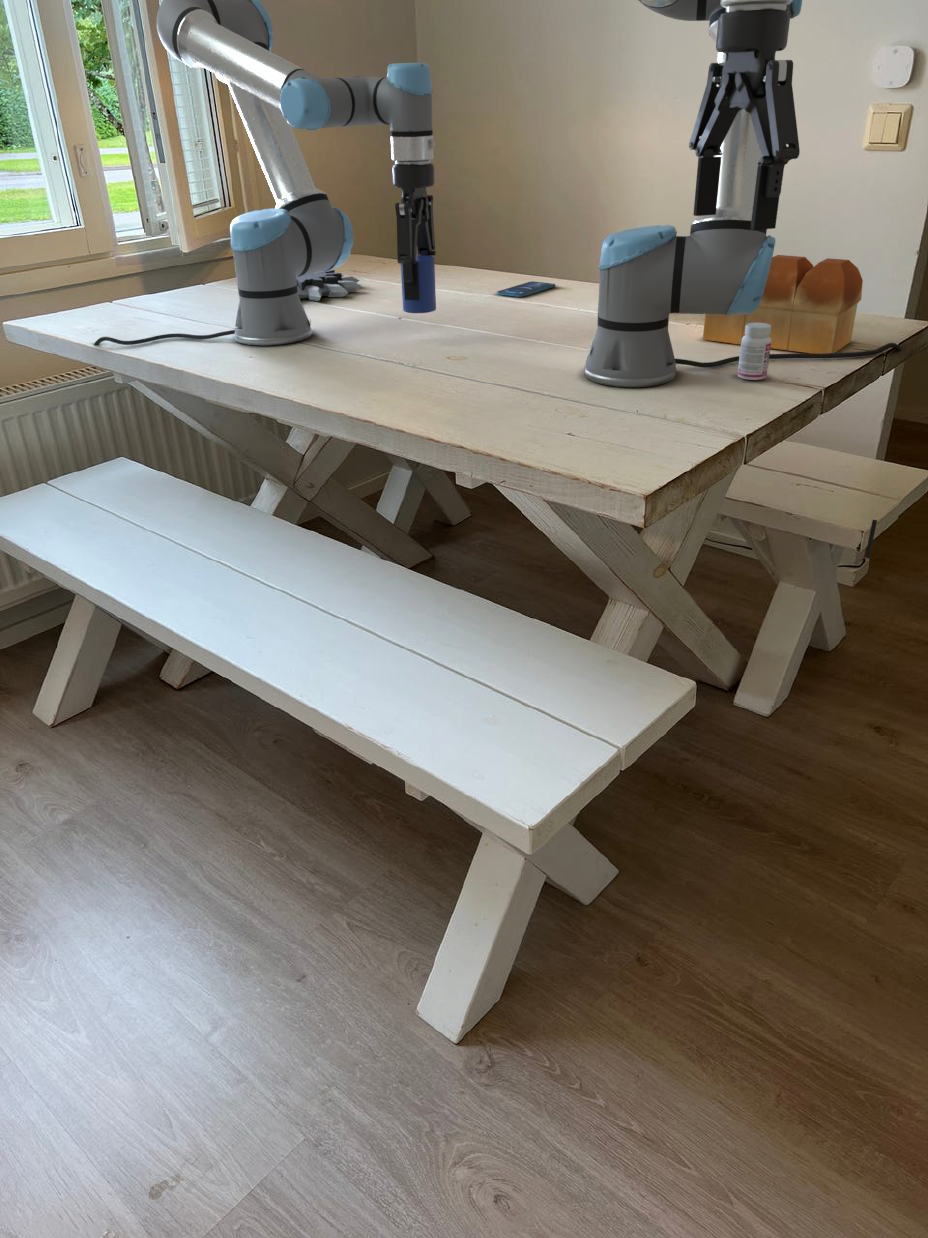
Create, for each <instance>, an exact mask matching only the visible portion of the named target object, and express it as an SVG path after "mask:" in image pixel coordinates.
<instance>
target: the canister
mask: <svg viewBox="0 0 928 1238" xmlns="http://www.w3.org/2000/svg"><path fill="white" fill-rule="evenodd" d="M416 263H418V275H419V299H420V300H405V295H404V275H403V264H402V263H400V275H401V276H400V279H401V280H400V281H401V297H402V298H401V299H402V312H405V313H407V314H427V313H432V312H435V311H436V310H437V299H436V298H437V297H436V296H437V295H436V269H435V268H436V267H435V266H436V265H435V263H436V262H435V256H425V255H419V254H416Z"/></svg>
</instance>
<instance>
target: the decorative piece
mask: <svg viewBox="0 0 928 1238" xmlns="http://www.w3.org/2000/svg"><path fill="white" fill-rule="evenodd" d="M296 279H297V289H298V296H299V299H300V300H302V299H308V300H309V301H314V302H315V301H316V302H319V301H320V300H321V298H322V297H328V298H344V297H345V296H347V295H348V294H349V293H353V292H354V293H355V292H357V291H358V290H359V289H361V288H363V286H362V285H361V284H359V281H360V279H358V278H357V277H354V276H352V275H347V276H345V275H343V274H342V272H335V269H331V270H330V271H327V272H318V273H313V274H309V275H304V276H299V277H296Z"/></svg>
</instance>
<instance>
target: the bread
mask: <svg viewBox="0 0 928 1238" xmlns="http://www.w3.org/2000/svg"><path fill="white" fill-rule="evenodd" d="M863 281H864V280H863V277H862V275H861V272H860V270H859V268H858V267H857V266H856V265H855V264H854V263H853V262H852V261H851V260H850V259H843V258H842V259H841V258H829V257H827V258H825V259H823V260H821V261H819V262H818V263H816V264H815V265H814V264H813V263H812V262H811V261H810V260H809V259H808V258H807V257H806V256H798V255H797V256H796V255H785V254H783V255H782V254H776V255H773V257H772V261H771V266H770V270H769V274H768V278H767V282H766V286H765V289H764V293H763V296H762V299H761V302H760V305H759V307H758V308H757V309H756V310H755V311H754V312H753V313H750V314H734V315H729V316H726V315H724V314H704V324H703V335H702V340H704V341H712V342H720V343H726V344H735V345H741V341H742V338H743V337H744V336H745V335H746V334H745V327H746V324H748V323H766V324H770V325H771V333H770V335H769V337H770V338H771V349H775V350H783V351H789V352H790V351H791V352H798V353H804V354H825V353H838V351H840V350H841V349H843V348H844V347H845V346H847V345H848V344H850V343H851V342H852V339H853V338H852V336H853V333H854V332H853V331H854V326H855V320H856V314H857V309H858V304H859V302H861V301H862V293H863V283H864V282H863Z"/></svg>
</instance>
